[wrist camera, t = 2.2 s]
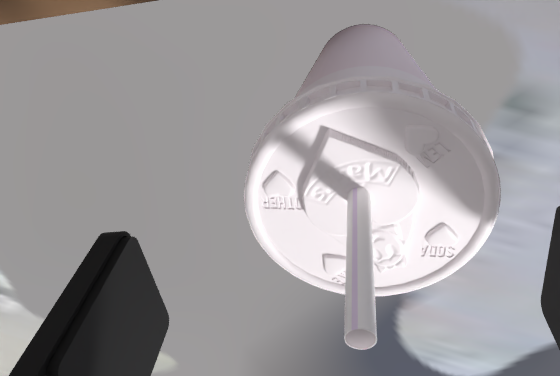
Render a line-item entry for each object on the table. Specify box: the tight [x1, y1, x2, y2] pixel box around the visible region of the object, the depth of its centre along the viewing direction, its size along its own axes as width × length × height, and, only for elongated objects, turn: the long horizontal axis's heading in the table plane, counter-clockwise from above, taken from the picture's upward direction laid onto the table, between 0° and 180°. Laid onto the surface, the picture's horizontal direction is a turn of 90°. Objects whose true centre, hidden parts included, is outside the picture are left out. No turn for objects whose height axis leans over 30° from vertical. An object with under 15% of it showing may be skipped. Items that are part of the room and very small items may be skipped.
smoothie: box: [244, 24, 501, 350], centre depth 14 cm, size 6×6×14 cm
